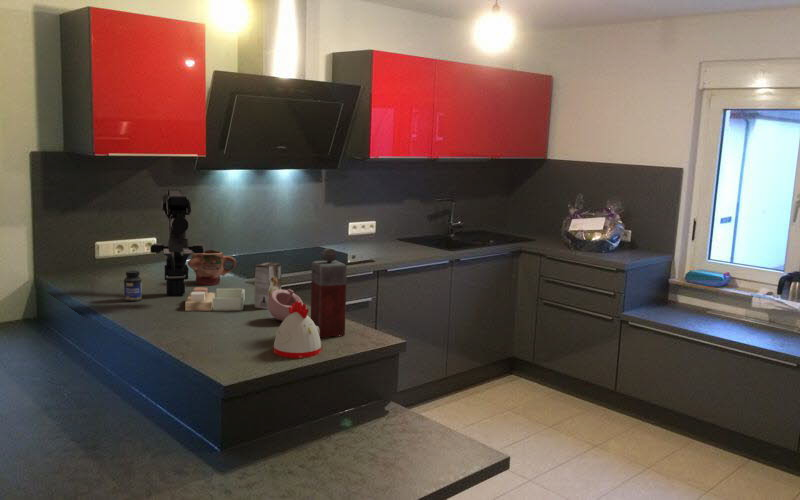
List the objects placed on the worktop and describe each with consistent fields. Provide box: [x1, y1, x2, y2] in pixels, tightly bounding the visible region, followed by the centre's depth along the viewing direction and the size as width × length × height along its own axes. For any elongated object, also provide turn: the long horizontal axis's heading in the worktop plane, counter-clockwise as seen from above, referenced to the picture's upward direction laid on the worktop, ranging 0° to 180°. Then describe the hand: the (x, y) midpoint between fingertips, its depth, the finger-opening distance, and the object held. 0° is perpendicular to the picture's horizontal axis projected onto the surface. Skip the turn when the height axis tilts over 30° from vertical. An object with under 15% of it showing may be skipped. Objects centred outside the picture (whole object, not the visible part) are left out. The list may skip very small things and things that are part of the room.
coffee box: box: [254, 261, 282, 310], centre depth 255 cm, size 9×6×16 cm
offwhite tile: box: [191, 291, 205, 301], centre depth 248 cm, size 4×4×2 cm
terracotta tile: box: [193, 286, 208, 296], centre depth 256 cm, size 4×4×2 cm
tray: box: [212, 288, 246, 312], centre depth 255 cm, size 10×17×4 cm, turn 10°
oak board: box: [184, 291, 216, 312], centre depth 253 cm, size 9×17×3 cm, turn 11°
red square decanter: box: [310, 247, 348, 338], centre depth 221 cm, size 9×11×28 cm
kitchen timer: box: [273, 301, 322, 359], centre depth 200 cm, size 14×14×15 cm
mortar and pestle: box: [267, 288, 304, 322], centre depth 235 cm, size 12×12×12 cm
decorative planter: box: [187, 249, 237, 286], centre depth 292 cm, size 20×12×14 cm, turn 105°
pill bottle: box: [123, 270, 142, 302], centre depth 256 cm, size 6×6×11 cm
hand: (178, 271), depth 254 cm, fingers open, 3 cm apart
